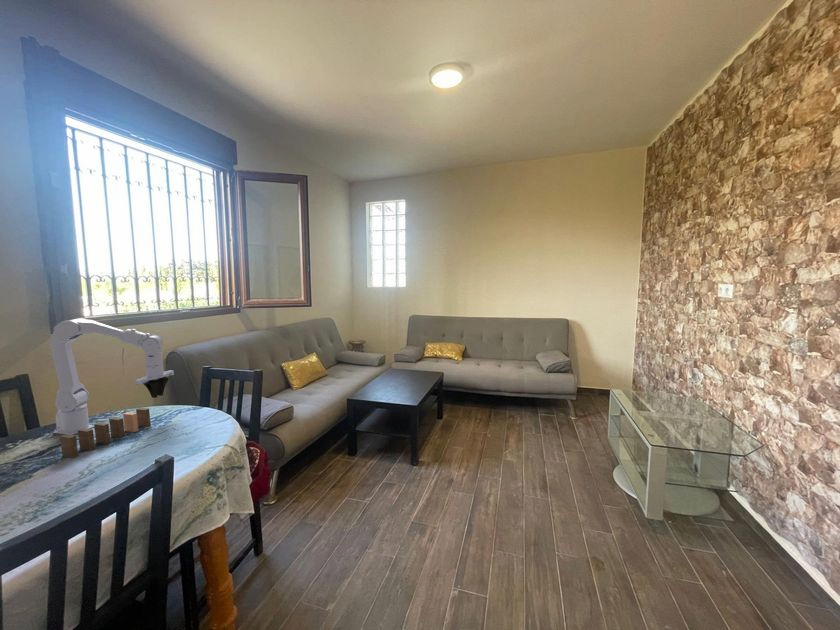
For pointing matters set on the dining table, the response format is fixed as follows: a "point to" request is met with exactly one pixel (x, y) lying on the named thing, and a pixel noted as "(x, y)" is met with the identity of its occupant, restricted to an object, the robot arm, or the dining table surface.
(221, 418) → the dining table surface
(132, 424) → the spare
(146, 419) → the domino
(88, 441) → the domino
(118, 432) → the domino
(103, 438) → the domino
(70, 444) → the domino
